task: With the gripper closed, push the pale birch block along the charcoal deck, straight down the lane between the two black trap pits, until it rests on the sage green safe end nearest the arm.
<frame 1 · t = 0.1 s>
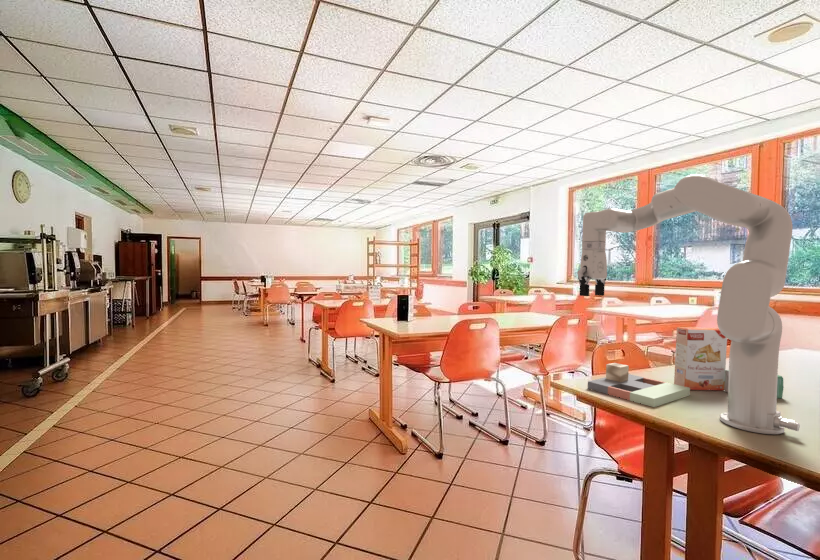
hand: (592, 295, 139), 31 cm above the table, tool pointing down, fingers open, 9 cm apart
block: (617, 379, 135), point 2 cm above the table, touching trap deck
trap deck: (637, 392, 130), on the table
cracker box: (699, 388, 136), on the table
box: (753, 395, 129), on the table
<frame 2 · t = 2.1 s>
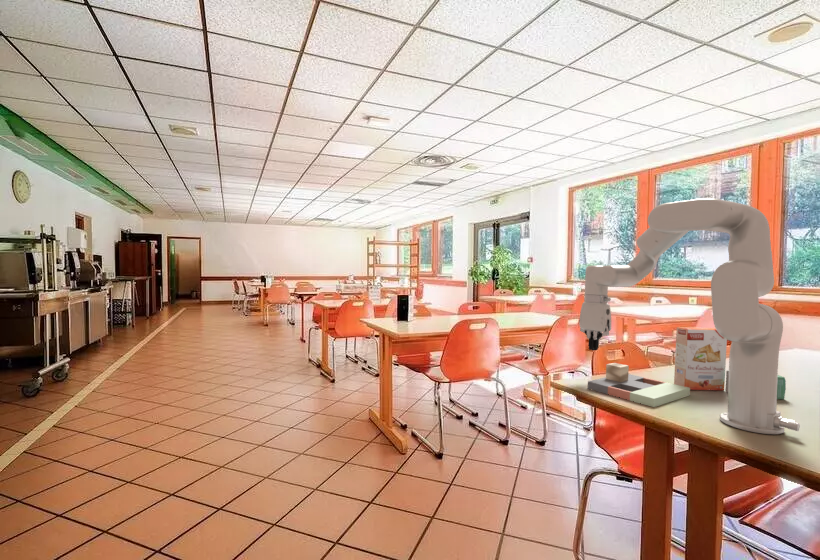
hand: (593, 349, 143), 11 cm above the table, tool pointing down, fingers closed
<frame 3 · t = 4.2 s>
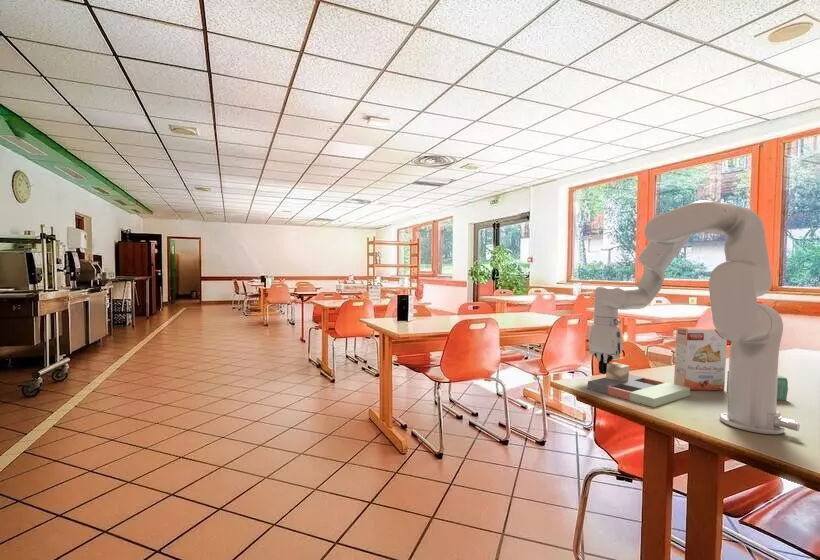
hand: (603, 372, 139), 4 cm above the table, tool pointing down, fingers closed
block: (617, 379, 135), point 3 cm above the table, touching gripper, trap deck
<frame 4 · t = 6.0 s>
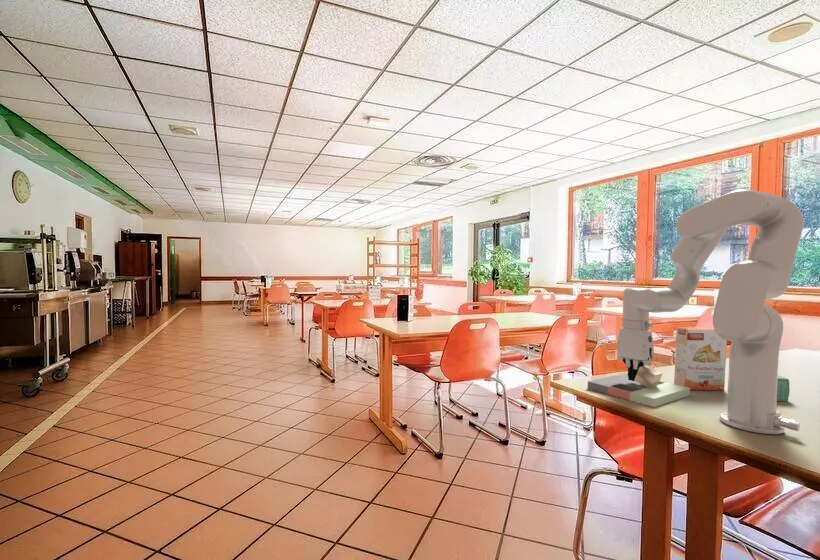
hand: (633, 380, 131), 4 cm above the table, tool pointing down, fingers closed
block: (645, 383, 128), point 3 cm above the table, tilted 19°, touching gripper
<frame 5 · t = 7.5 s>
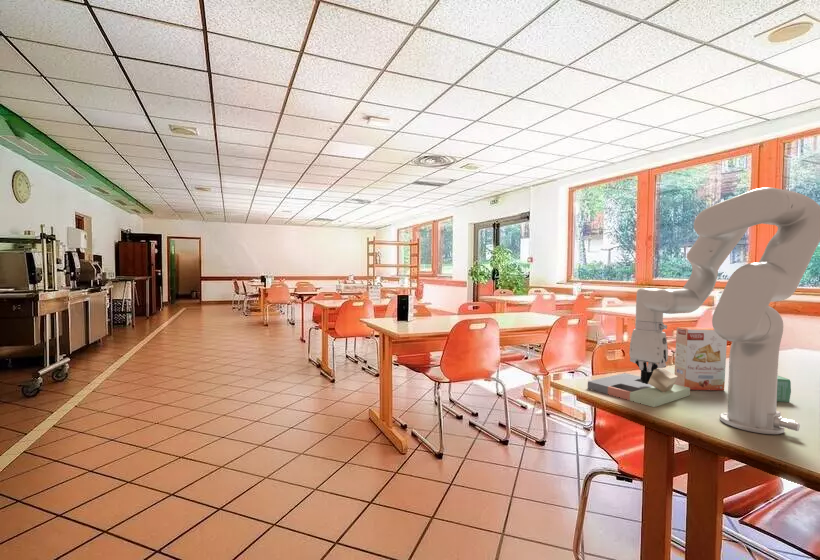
hand: (646, 382, 127), 4 cm above the table, tool pointing down, fingers closed
block: (659, 386, 124), point 3 cm above the table, tilted 20°, touching gripper, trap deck
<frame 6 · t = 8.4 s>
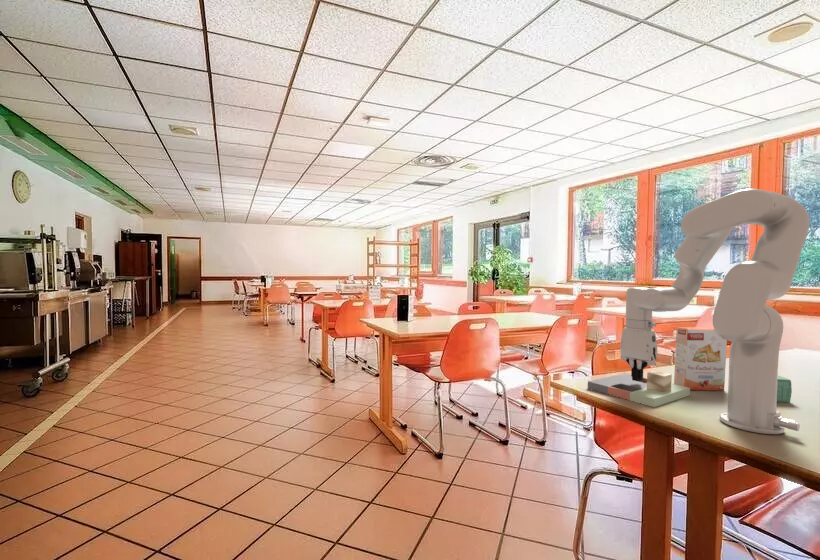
hand: (637, 380, 130), 4 cm above the table, tool pointing down, fingers closed
block: (658, 389, 125), point 2 cm above the table, touching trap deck
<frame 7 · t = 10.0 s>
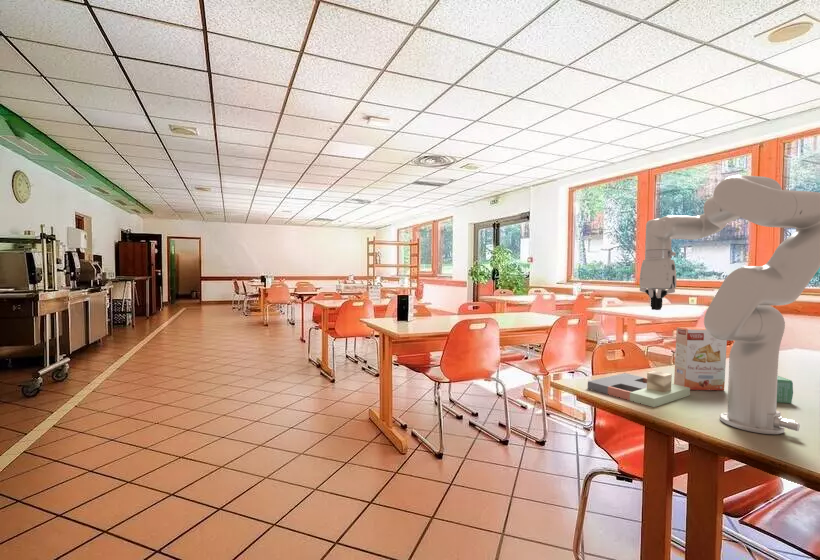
hand: (656, 309, 134), 27 cm above the table, tool pointing down, fingers closed
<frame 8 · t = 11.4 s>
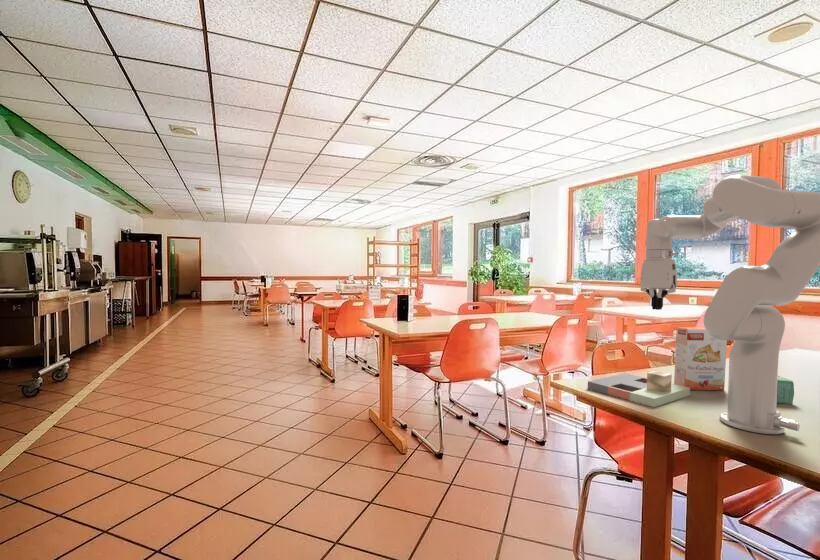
hand: (656, 309, 134), 27 cm above the table, tool pointing down, fingers closed
at the end: block 0.4 cm from the target spot, point 2.5 cm above the table; block tilted 0° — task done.
